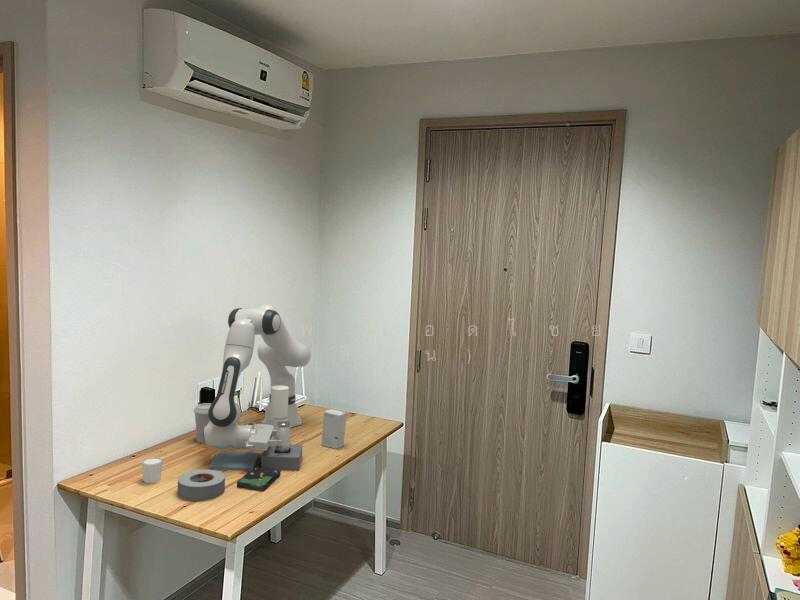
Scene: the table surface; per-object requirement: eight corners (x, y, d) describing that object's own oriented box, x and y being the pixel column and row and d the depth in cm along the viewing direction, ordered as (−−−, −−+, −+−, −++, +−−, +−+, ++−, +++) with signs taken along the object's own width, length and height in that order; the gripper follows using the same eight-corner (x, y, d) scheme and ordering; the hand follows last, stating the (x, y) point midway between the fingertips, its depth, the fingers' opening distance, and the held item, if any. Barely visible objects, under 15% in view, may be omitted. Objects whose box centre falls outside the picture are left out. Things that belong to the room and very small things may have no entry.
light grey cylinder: (146, 475, 213) (147, 457, 213) (165, 477, 213) (166, 458, 212) (137, 483, 206) (138, 464, 206) (157, 485, 206) (157, 465, 206)
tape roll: (199, 479, 213) (199, 465, 213) (234, 488, 208) (234, 474, 207) (167, 495, 199) (167, 480, 199) (203, 505, 193) (204, 490, 193)
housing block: (266, 455, 239) (267, 443, 238) (301, 456, 240) (302, 444, 239) (261, 469, 225) (261, 456, 224) (298, 470, 226) (299, 457, 225)
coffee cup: (216, 436, 258) (217, 402, 257) (217, 443, 249) (217, 408, 248) (193, 437, 255) (193, 403, 254) (192, 445, 246) (193, 409, 245)
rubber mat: (218, 453, 238) (218, 451, 238) (259, 454, 239) (259, 452, 239) (209, 469, 222) (209, 466, 222) (252, 470, 223) (252, 467, 223)
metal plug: (276, 460, 234) (277, 420, 233) (289, 460, 235) (290, 421, 233) (274, 465, 229) (276, 424, 228) (288, 465, 230) (289, 425, 228)
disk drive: (254, 473, 222) (236, 488, 208) (254, 466, 222) (236, 481, 207) (280, 477, 220) (264, 492, 206) (281, 469, 220) (264, 485, 206)
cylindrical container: (282, 449, 246) (284, 390, 244) (266, 447, 248) (268, 388, 245) (289, 444, 253) (291, 386, 251) (273, 442, 255) (275, 384, 252)
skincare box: (321, 445, 254) (322, 411, 252) (328, 441, 259) (330, 408, 258) (337, 449, 250) (339, 415, 248) (345, 445, 255) (346, 411, 254)
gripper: (242, 438, 219) (280, 439, 221) (251, 421, 240) (286, 422, 241) (241, 454, 220) (279, 455, 221) (251, 436, 240) (285, 437, 241)
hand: (283, 438), depth 231 cm, fingers open, 8 cm apart
